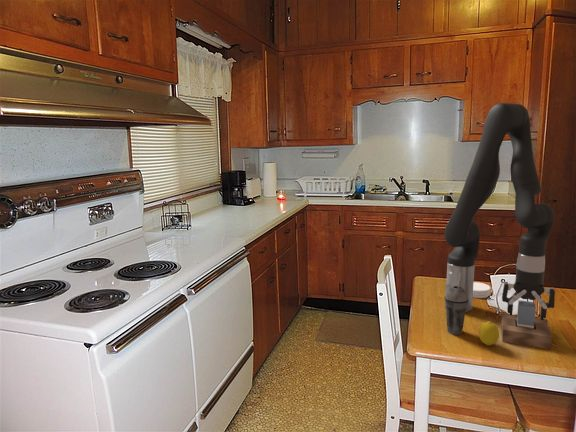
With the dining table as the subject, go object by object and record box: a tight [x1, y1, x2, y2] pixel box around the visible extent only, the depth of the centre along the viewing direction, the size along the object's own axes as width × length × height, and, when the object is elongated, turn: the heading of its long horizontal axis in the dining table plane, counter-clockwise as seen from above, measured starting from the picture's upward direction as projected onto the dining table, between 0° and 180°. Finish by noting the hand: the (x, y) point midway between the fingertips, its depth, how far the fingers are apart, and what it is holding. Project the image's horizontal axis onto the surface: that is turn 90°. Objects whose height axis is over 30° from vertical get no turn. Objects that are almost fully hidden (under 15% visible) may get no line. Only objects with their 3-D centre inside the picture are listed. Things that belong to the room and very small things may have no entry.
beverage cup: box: [444, 273, 468, 336], centre depth 137 cm, size 7×7×20 cm
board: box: [500, 312, 553, 350], centre depth 134 cm, size 13×13×4 cm
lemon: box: [478, 320, 500, 347], centre depth 129 cm, size 6×6×8 cm
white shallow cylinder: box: [473, 281, 492, 299], centre depth 170 cm, size 10×10×4 cm
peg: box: [516, 299, 536, 329], centre depth 134 cm, size 4×4×11 cm
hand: (526, 316), depth 133 cm, fingers open, 8 cm apart
